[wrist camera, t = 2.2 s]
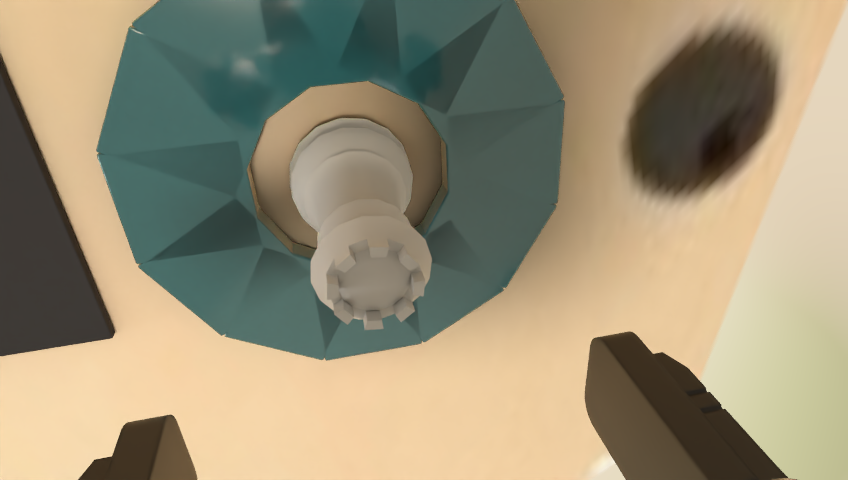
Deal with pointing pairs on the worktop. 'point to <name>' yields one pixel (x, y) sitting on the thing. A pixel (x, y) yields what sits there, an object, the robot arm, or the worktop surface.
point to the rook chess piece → (360, 220)
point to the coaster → (38, 250)
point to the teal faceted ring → (276, 87)
